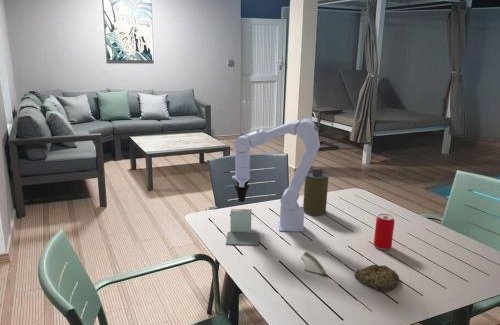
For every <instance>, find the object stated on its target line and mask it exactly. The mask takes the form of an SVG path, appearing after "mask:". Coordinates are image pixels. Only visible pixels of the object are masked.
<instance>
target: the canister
mask: <svg viewBox="0 0 500 325" xmlns="http://www.w3.org/2000/svg"><path fill="white" fill-rule="evenodd" d="M329 177H330V174H329V173H328V172H326V171H323V168H322V167H317V166H314V167H313V168H312V170H309V172H308V174H307V176H306V178H305V180H304V186H303V187H304V188H303V204H302V207H303V208H304V214H305V215H309V216H313V217H315V216H316V217H317V216H318V217H319V216H324V215H325V214H327V200H328V199H327V198H328V188H329V187H328V186H329Z"/></svg>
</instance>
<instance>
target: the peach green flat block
mask: <svg viewBox="0 0 500 325" xmlns="http://www.w3.org/2000/svg"><path fill="white" fill-rule="evenodd" d="M252 211H253V210H252V209H250V208H249V209H246V208H245V209H244V208H231V209H230V226H229V227H230V230H229V232H252Z"/></svg>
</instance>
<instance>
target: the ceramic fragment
mask: <svg viewBox="0 0 500 325" xmlns="http://www.w3.org/2000/svg"><path fill="white" fill-rule="evenodd" d="M300 258H301V260H302V261H303V262H304V271H306V272H309V273H312V274H316V273H317V274H318V275H321V276H324V277H328V274H327V273H326V270H325V269H324V267H323V265H322V264H321V262H320V261H319V260H318V259H317V258H316V257H315V256H314V255H313V254H311V253H310V252H307V251H305V252H304V253H303V255H302V256H301V257H300Z"/></svg>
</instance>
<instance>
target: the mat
mask: <svg viewBox="0 0 500 325" xmlns="http://www.w3.org/2000/svg"><path fill="white" fill-rule="evenodd" d="M225 245H226V246H260V232H252V231H251V232H230V231H227V236H226V242H225Z"/></svg>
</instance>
